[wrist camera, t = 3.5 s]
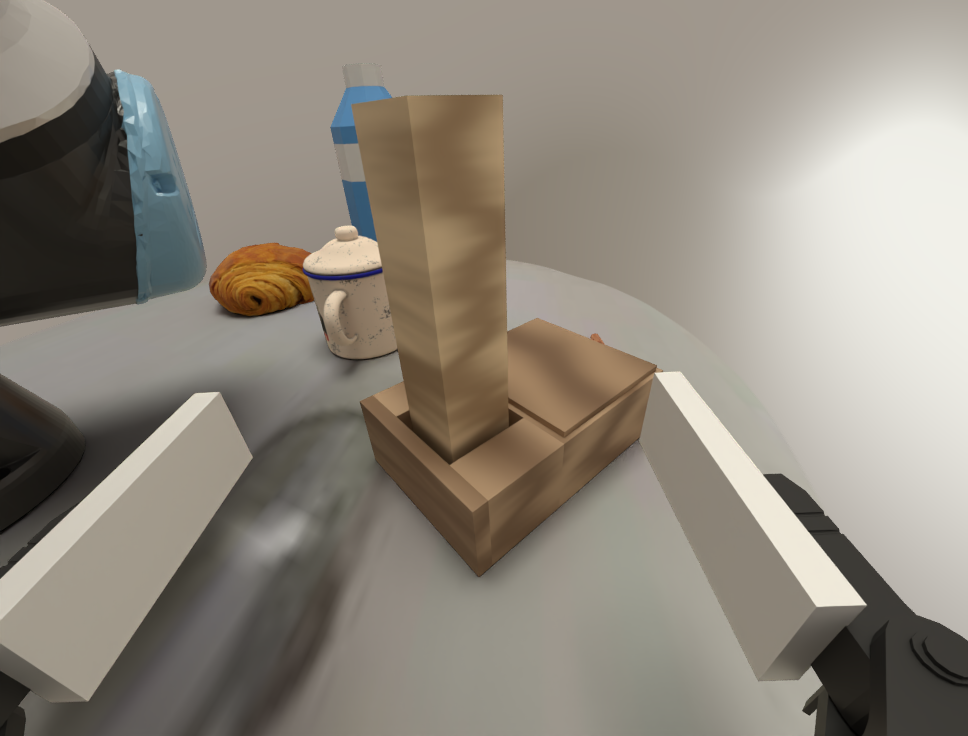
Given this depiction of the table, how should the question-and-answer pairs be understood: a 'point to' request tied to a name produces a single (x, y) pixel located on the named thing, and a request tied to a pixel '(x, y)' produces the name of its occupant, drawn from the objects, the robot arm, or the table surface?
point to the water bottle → (356, 141)
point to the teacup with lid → (351, 296)
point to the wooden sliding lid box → (519, 441)
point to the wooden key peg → (443, 257)
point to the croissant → (261, 279)
